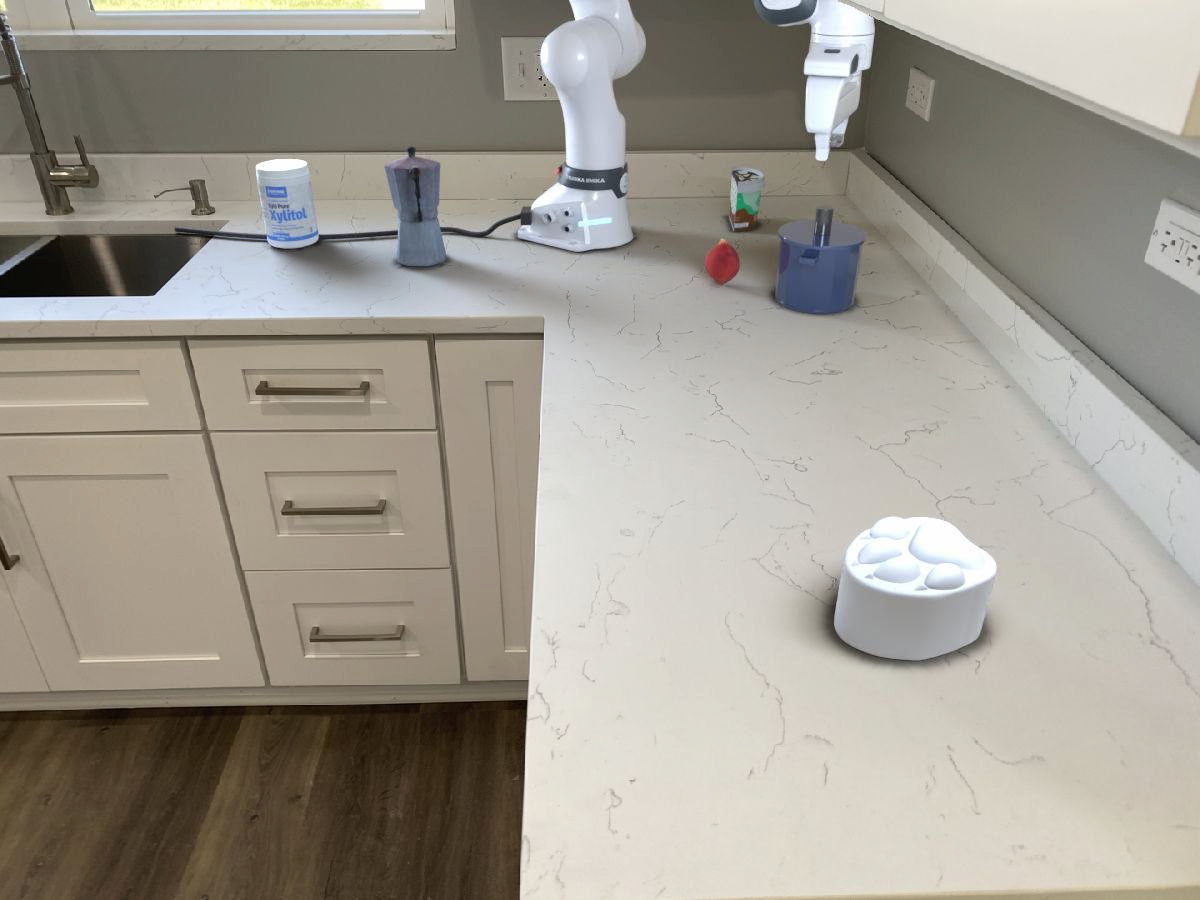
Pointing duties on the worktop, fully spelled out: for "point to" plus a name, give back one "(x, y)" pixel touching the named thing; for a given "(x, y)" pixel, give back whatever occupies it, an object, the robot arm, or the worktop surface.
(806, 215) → the worktop surface
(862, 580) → the lumpy-topped squat cylinder
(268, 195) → the supplement tub
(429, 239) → the moka pot
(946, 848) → the worktop surface
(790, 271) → the pot
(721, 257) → the onion
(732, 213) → the food container
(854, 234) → the lid
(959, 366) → the worktop surface
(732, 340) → the worktop surface
